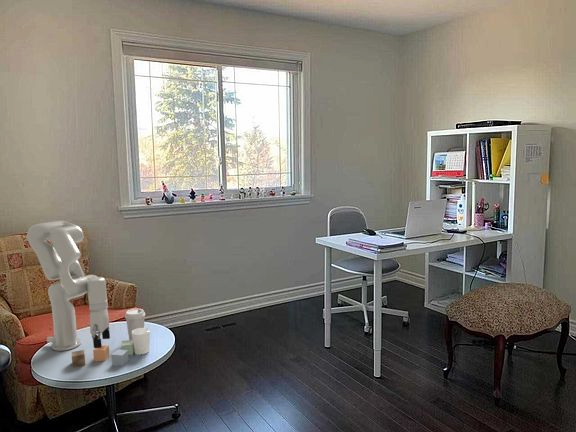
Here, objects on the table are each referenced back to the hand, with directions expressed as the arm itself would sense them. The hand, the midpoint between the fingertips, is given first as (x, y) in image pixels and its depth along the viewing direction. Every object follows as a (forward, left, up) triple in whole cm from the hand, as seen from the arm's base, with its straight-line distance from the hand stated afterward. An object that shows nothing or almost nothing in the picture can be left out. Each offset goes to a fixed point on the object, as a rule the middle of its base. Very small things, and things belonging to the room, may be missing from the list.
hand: (102, 343), depth 200 cm
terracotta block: (-1, +1, -7) cm, 8 cm away
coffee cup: (+9, +19, -8) cm, 22 cm away
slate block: (+9, -4, -7) cm, 13 cm away
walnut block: (-9, -4, -7) cm, 12 cm away
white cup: (+15, +7, -8) cm, 18 cm away
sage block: (+9, +6, -7) cm, 13 cm away
